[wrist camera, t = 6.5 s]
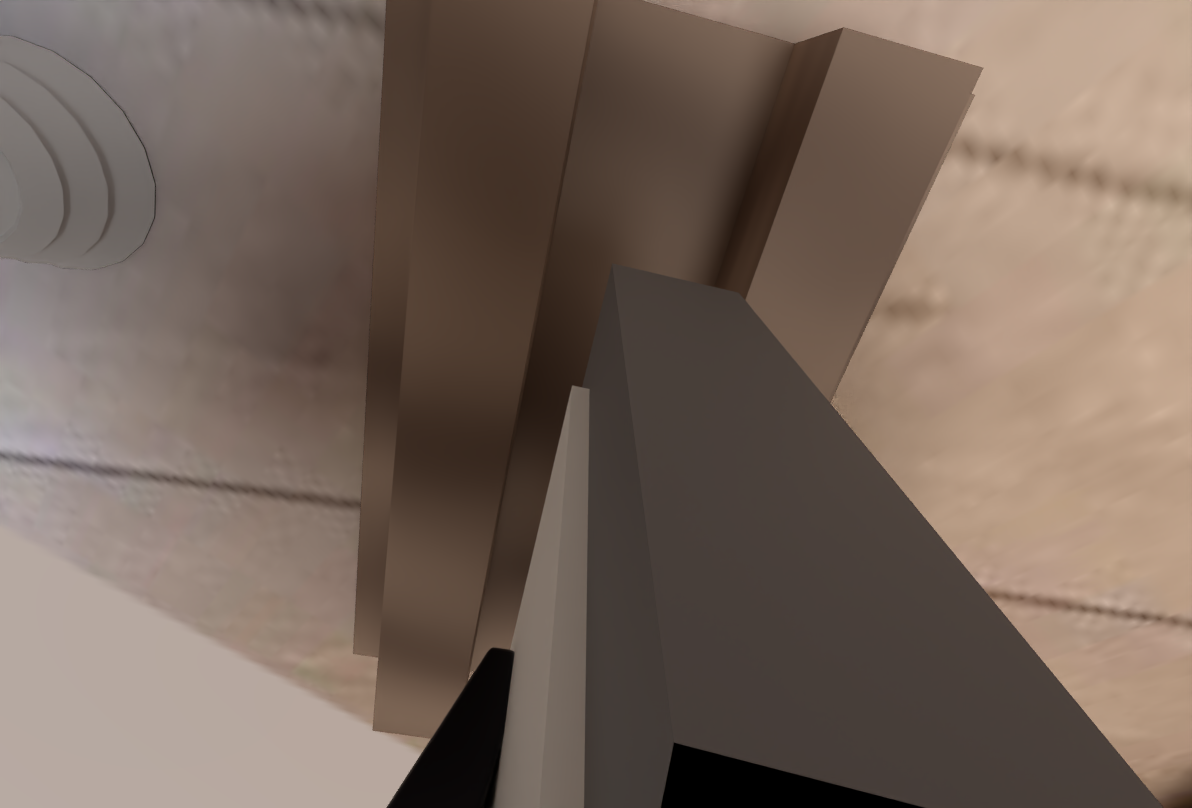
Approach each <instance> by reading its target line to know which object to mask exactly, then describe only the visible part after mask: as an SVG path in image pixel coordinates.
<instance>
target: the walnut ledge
mask: <svg viewBox="0 0 1192 808" xmlns="http://www.w3.org/2000/svg"><path fill="white" fill-rule="evenodd" d="M982 70H983V68H982V67H979V66H975V65H972V64H968V63H965V62H961V61H958V60H954V59H951V58H948V57H944V56H941V55H937V54H934V53H930V52H927V51H923V50H920V49H916V48H913V47H909V46H906V45H903V44H899V43H896V42H892V41H889V40H885V39H882V38H878V37H875V36H871V35H868V34H865V33H861V32H858V31H854V30H851V29H847V28H844V27H843V28H840V29H837V30H834V31H831V32H828V33H825V34H822V35H819V36H816V37H813V38H810V39H807V40H804V41H801V42H798V43H796V44H794V43H790V42H787V41H783V40H780V39H776V38H773V37H769V36H765V35H762V34H758V33H755V32H751V31H748V30H744V29H741V28H737V27H734V26H730V25H727V24H723V23H720V22H716V21H712V20H709V19H705V18H702V17H698V16H695V15H691V14H688V13H684V12H681V11H677V10H674V9H670V8H667V7H663V6H659V5H656V4H652V3H649V2H645V1H642V0H386V20H385V39H384V59H383V79H382V98H381V118H380V137H379V157H378V177H377V196H376V216H375V235H374V255H373V275H372V294H371V314H370V333H369V353H368V373H367V392H366V412H365V431H364V451H363V470H362V490H361V510H360V529H359V549H358V568H357V588H356V608H355V627H354V647H353V654H358V655H365V656H372V657H378V669H377V682H376V694H375V706H374V719H373V731H380V732H387V733H395V734H402V735H410V736H417V737H425V738H432V736H433V735H434V733H435V732H436V730H437V729H438V727H439V726H440V724H441V723H442V721H443V719H444V718H445V716H446V715H447V713H448V712H449V710H450V709H451V707H452V706H453V704H454V702H455V701H456V699H457V698H458V696H459V695H460V693H461V692H462V690H463V689H464V687H465V685H466V684H467V682H468V677H469V673H470V671H473V672H475V670H476V668H477V667H478V665H479V664H480V662H481V661H482V659H483V658H484V656H485V655H486V653H487V652H488V650H489V649H490V648H493V647H496V648H502V649H509V650H510V648H511V644H512V640H513V636H514V631H515V627H516V623H517V619H518V614H519V610H520V606H521V601H522V597H523V593H524V589H525V584H526V580H527V576H528V572H529V567H530V563H531V559H532V555H533V550H534V546H535V542H536V537H537V533H538V529H539V525H540V520H541V516H542V512H543V508H544V503H545V499H546V495H547V491H548V486H549V482H550V478H551V473H552V469H553V465H554V461H555V456H556V452H557V448H558V444H559V439H560V435H561V431H562V427H563V422H564V418H565V414H566V409H567V405H568V401H569V397H570V392H571V388H572V386H577V387H582V385H583V381H584V377H585V373H586V369H587V365H588V361H589V356H590V352H591V348H592V344H593V340H594V336H595V332H596V328H597V324H598V319H599V315H600V311H601V307H602V303H603V299H604V295H605V291H606V287H607V283H608V278H609V274H610V270H611V266H612V263H613V264H617V265H622V266H626V267H630V268H635V269H639V270H643V271H647V272H652V273H656V274H660V275H665V276H669V277H673V278H678V279H682V280H686V281H691V282H695V283H699V284H703V285H708V286H712V287H716V288H721V289H725V290H729V291H734V292H738V293H740V295H741V296H742V297H743V298H744V299H745V301H746V302H747V303H748V304H749V305H750V307H751V308H752V309H753V310H754V312H755V313H756V314H757V315H758V316H759V318H760V319H761V320H762V321H763V322H764V324H765V325H766V326H767V327H768V329H769V330H770V331H771V332H772V333H773V335H774V336H775V337H776V338H777V339H778V341H779V342H780V343H781V344H782V346H783V347H784V348H785V349H786V350H787V352H788V353H789V354H790V355H791V356H792V358H793V359H794V360H795V361H796V362H797V364H798V365H799V366H800V367H801V369H802V370H803V371H804V372H805V373H806V375H807V376H808V377H809V378H810V379H811V381H812V382H813V383H814V384H815V386H816V387H817V388H818V389H819V390H820V392H821V393H822V394H823V395H824V396H825V398H826V399H827V400H828V401H829V403H830V402H831V400H832V398H833V396H834V394H835V392H836V390H837V387H838V385H839V383H840V381H841V379H842V377H843V375H844V373H845V370H846V368H847V366H848V364H849V362H850V360H851V358H852V355H853V353H854V351H855V349H856V347H857V345H858V343H859V341H860V338H861V336H862V334H863V332H864V330H865V328H866V326H867V324H868V321H869V319H870V317H871V315H872V313H873V311H874V309H875V307H876V304H877V302H878V300H879V298H880V296H881V294H882V292H883V290H884V287H885V285H886V283H887V281H888V279H889V277H890V275H891V273H892V270H893V268H894V266H895V264H896V262H897V260H898V258H899V255H900V253H901V251H902V249H903V247H904V245H905V243H906V241H907V238H908V236H909V234H910V232H911V230H912V228H913V226H914V224H915V221H916V219H917V217H918V215H919V213H920V211H921V209H922V207H923V204H924V202H925V200H926V198H927V196H928V194H929V192H930V190H931V187H932V185H933V183H934V181H935V179H936V177H937V175H938V173H939V170H940V168H941V166H942V164H943V162H944V160H945V158H946V156H947V153H948V151H949V149H950V147H951V145H952V143H953V141H954V138H955V136H956V134H957V132H958V130H959V128H960V126H961V124H962V121H963V119H964V117H965V115H966V113H967V111H968V109H969V107H970V104H971V102H972V100H973V98H974V96H975V95H974V94H971V93H972V91H973V89H974V87H975V85H976V83H977V80H978V78H979V76H980V74H981V72H982Z"/></svg>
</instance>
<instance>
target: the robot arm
mask: <svg viewBox="0 0 1192 808" xmlns="http://www.w3.org/2000/svg"><path fill="white" fill-rule="evenodd" d="M513 661H514V651H512V650H509V649H502V648H496V647H493V648H490V649H489V650H488V652H487V653H486V655H485V656H484V658H483V659H482V661H481V662H480V664H479V665H478V667H477V668H476V670H475V672H474V673H473V675H472V676H471V678H470V679H469V681H468V682H467V684H466V685H465V687H464V689H463V690H462V692H461V693H460V695H459V696H458V698H457V699H456V701H455V702H454V704H453V706H452V707H451V709H450V710H449V712H448V713H447V715H446V716H445V718H444V719H443V721H442V723H441V724H440V726H439V727H438V729H437V730H436V732H435V733H434V735H433V736H432V738H431V740H430V741H429V743H428V744H427V746H426V747H425V749H424V750H423V752H422V753H421V755H420V757H419V758H418V760H417V761H416V763H415V764H414V766H413V768H412V769H411V770H410V772H409V774H408V775H407V777H406V778H405V780H404V781H403V783H402V784H401V786H400V788H399V789H398V791H397V792H396V794H395V795H394V797H393V799H392V800H391V802H390V803H389V805H388V806H387V808H486V804H487V800H488V796H489V792H490V788H491V784H492V780H493V776H494V772H495V768H496V764H497V760H498V757H499V753H500V749H501V745H502V741H503V736H504V729H505V722H506V714H507V707H508V699H509V691H510V684H511V676H512V668H513Z"/></svg>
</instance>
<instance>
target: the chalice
mask: <svg viewBox="0 0 1192 808" xmlns="http://www.w3.org/2000/svg"><path fill="white" fill-rule="evenodd" d="M154 209H155V183H154V180H153V176H152V173H151V169H150V166H149V163H148V159H147V156H146V152H145V149H144V147H143V145H142V144H141V142H140V140H139V138H138V137H137V135H136V133H135V132H134V130H133V128H132V127H131V125H130V123H129V121H128V120H127V118H126V116H125V115H124V113H123V111H122V110H121V109H120V108H119V107H118V106H117V105H116V104H115V103H114V102H113V101H112V99H111V98H110V97H109V96H108V95H107V94H106V93H105V92H104V91H103V90H102V89H101V88H100V87H99V86H98V84H97V83H96V82H95V81H94V80H93V79H92V78H91V77H90V76H88V75H87V74H85V73H84V72H82V71H81V70H79V69H78V68H76V67H75V66H73V65H72V64H71V63H69V62H68V61H66V60H65V59H63V58H62V57H60V56H59V55H57V54H56V53H54V52H53V51H51V50H48V49H45V48H43V47H40V46H37V45H35V44H32V43H29V42H27V41H24V40H21V39H18V38H16V37H13V36H2V35H0V258H6V259H16V260H19V261H22V262H25V263H44V264H51V265H54V266H57V267H61V268H66V269H92V270H96V269H99V268H103V267H106V266H109V265H112V264H115V263H119V262H122V261H124V260H125V259H126V258H127V257H128V256H129V255H131V254H132V253H133V252H134V251H135V250H136V249H137V248H138V247H140V246H141V245H142V244H143V243H144V240H145V238H146V236H147V233H148V231H149V229H150V226H151V224H152V222H153V219H154Z"/></svg>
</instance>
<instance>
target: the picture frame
mask: <svg viewBox="0 0 1192 808" xmlns="http://www.w3.org/2000/svg"><path fill="white" fill-rule="evenodd" d="M510 650H512V651H514V661H513V668H512V676H511V684H510V691H509V699H508V707H507V714H506V722H505V729H504V736H503V741H502V745H501V749H500V753H499V757H498V760H497V764H496V768H495V772H494V776H493V780H492V784H491V788H490V792H489V796H488V800H487V804H486V808H1163V807H1162V805H1161V804H1160V803H1159V802H1158V800H1157V799H1156V798H1155V797H1154V796H1153V794H1152V793H1151V792H1150V791H1149V790H1148V788H1147V787H1146V786H1145V785H1144V783H1143V782H1142V781H1141V780H1140V779H1139V777H1138V776H1137V775H1136V774H1135V773H1134V771H1133V770H1132V769H1131V768H1130V766H1129V765H1128V764H1127V763H1126V762H1125V760H1124V759H1123V758H1122V757H1121V756H1120V754H1119V753H1118V752H1117V751H1116V750H1115V748H1114V747H1113V746H1112V745H1111V743H1110V742H1109V741H1108V740H1107V739H1106V737H1105V736H1104V735H1103V734H1102V733H1101V731H1100V730H1099V729H1098V728H1097V726H1096V725H1095V724H1094V723H1093V722H1092V720H1091V719H1090V718H1089V717H1088V716H1087V714H1086V713H1085V712H1084V711H1083V709H1082V708H1081V707H1080V706H1079V705H1078V703H1077V702H1076V701H1075V700H1074V699H1073V697H1072V696H1071V695H1070V694H1069V692H1068V691H1067V690H1066V689H1065V688H1064V686H1063V685H1062V684H1061V683H1060V682H1059V680H1058V679H1057V678H1056V677H1055V676H1054V674H1053V673H1052V672H1051V671H1050V669H1049V668H1048V667H1047V666H1046V665H1045V663H1044V662H1043V661H1042V660H1041V659H1040V657H1039V656H1038V655H1037V654H1036V652H1035V651H1034V650H1033V649H1032V648H1031V646H1030V645H1029V644H1028V643H1027V642H1026V640H1025V639H1024V638H1023V637H1022V635H1021V634H1020V633H1019V632H1018V631H1017V629H1016V628H1015V627H1014V626H1013V625H1012V623H1011V622H1010V621H1009V620H1008V618H1007V617H1006V616H1005V615H1004V614H1003V612H1002V611H1001V610H1000V609H999V608H998V606H997V605H996V604H995V603H994V601H993V600H992V599H991V598H990V597H989V595H988V594H987V593H986V592H985V591H984V589H983V588H982V587H981V586H980V585H979V583H978V582H977V581H976V580H975V578H974V577H973V576H972V575H971V574H970V572H969V571H968V570H967V569H966V568H965V566H964V565H963V564H962V563H961V561H960V560H959V559H958V558H957V557H956V555H955V554H954V553H953V552H952V551H951V549H950V548H949V547H948V546H947V544H946V543H945V542H944V541H943V540H942V538H941V537H940V536H939V535H938V534H937V532H936V531H935V530H934V529H933V527H932V526H931V525H930V524H929V523H928V521H927V520H926V519H925V518H924V517H923V515H922V514H921V513H920V512H919V511H918V509H917V508H916V507H915V506H914V504H913V503H912V502H911V501H910V500H909V498H908V497H907V496H906V495H905V494H904V492H903V491H902V490H901V489H900V487H899V486H898V485H897V484H896V483H895V481H894V480H893V479H892V478H891V477H890V475H889V474H888V473H887V472H886V470H885V469H884V468H883V467H882V466H881V464H880V463H879V462H878V461H877V460H876V458H875V457H874V456H873V455H872V453H871V452H870V451H869V450H868V449H867V447H866V446H865V445H864V444H863V443H862V441H861V440H860V439H859V438H858V436H857V435H856V434H855V433H854V432H853V430H852V429H851V428H850V427H849V426H848V424H847V423H846V422H845V421H844V420H843V418H842V417H841V416H840V415H839V413H838V412H837V411H836V410H835V409H834V407H833V406H832V405H831V404H830V403H829V401H828V400H827V399H826V398H825V396H824V395H823V394H822V393H821V392H820V390H819V389H818V388H817V387H816V386H815V384H814V383H813V382H812V381H811V379H810V378H809V377H808V376H807V375H806V373H805V372H804V371H803V370H802V369H801V367H800V366H799V365H798V364H797V362H796V361H795V360H794V359H793V358H792V356H791V355H790V354H789V353H788V352H787V350H786V349H785V348H784V347H783V346H782V344H781V343H780V342H779V341H778V339H777V338H776V337H775V336H774V335H773V333H772V332H771V331H770V330H769V329H768V327H767V326H766V325H765V324H764V322H763V321H762V320H761V319H760V318H759V316H758V315H757V314H756V313H755V312H754V310H753V309H752V308H751V307H750V305H749V304H748V303H747V302H746V301H745V299H744V298H743V297H742V296H741V295H740V293H738V292H734V291H729V290H725V289H721V288H716V287H712V286H708V285H703V284H699V283H695V282H691V281H686V280H682V279H678V278H673V277H669V276H665V275H660V274H656V273H652V272H647V271H643V270H639V269H635V268H630V267H626V266H622V265H617V264H613V263H612V266H611V270H610V274H609V278H608V283H607V287H606V291H605V295H604V299H603V303H602V307H601V311H600V315H599V319H598V324H597V328H596V332H595V336H594V340H593V344H592V348H591V352H590V356H589V361H588V365H587V369H586V373H585V377H584V381H583V385H582V387H577V386H572V388H571V392H570V397H569V401H568V405H567V409H566V414H565V418H564V422H563V427H562V431H561V435H560V439H559V444H558V448H557V452H556V456H555V461H554V465H553V469H552V473H551V478H550V482H549V486H548V491H547V495H546V499H545V503H544V508H543V512H542V516H541V520H540V525H539V529H538V533H537V537H536V542H535V546H534V550H533V555H532V559H531V563H530V567H529V572H528V576H527V580H526V584H525V589H524V593H523V597H522V601H521V606H520V610H519V614H518V619H517V623H516V627H515V631H514V636H513V640H512V644H511V648H510Z"/></svg>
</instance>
